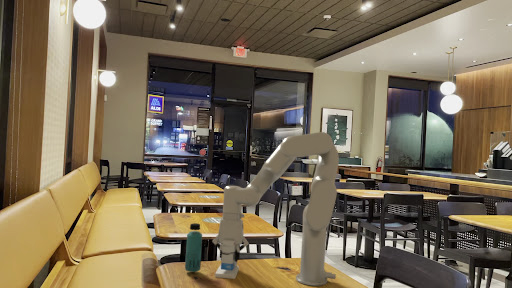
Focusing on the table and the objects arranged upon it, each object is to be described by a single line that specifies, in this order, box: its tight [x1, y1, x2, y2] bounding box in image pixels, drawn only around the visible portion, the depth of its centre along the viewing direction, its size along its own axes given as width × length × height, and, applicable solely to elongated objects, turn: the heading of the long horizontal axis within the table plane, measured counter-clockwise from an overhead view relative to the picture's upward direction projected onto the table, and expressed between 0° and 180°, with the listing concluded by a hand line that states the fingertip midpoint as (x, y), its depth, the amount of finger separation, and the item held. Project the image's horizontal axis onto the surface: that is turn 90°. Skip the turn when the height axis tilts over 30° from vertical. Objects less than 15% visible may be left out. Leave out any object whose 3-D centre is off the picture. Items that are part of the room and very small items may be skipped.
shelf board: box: [214, 264, 240, 280], centre depth 162 cm, size 8×12×2 cm
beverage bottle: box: [184, 223, 203, 273], centre depth 160 cm, size 6×7×20 cm
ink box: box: [220, 239, 238, 271], centre depth 161 cm, size 8×5×12 cm, turn 169°
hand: (229, 259), depth 161 cm, fingers closed on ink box, 5 cm apart
